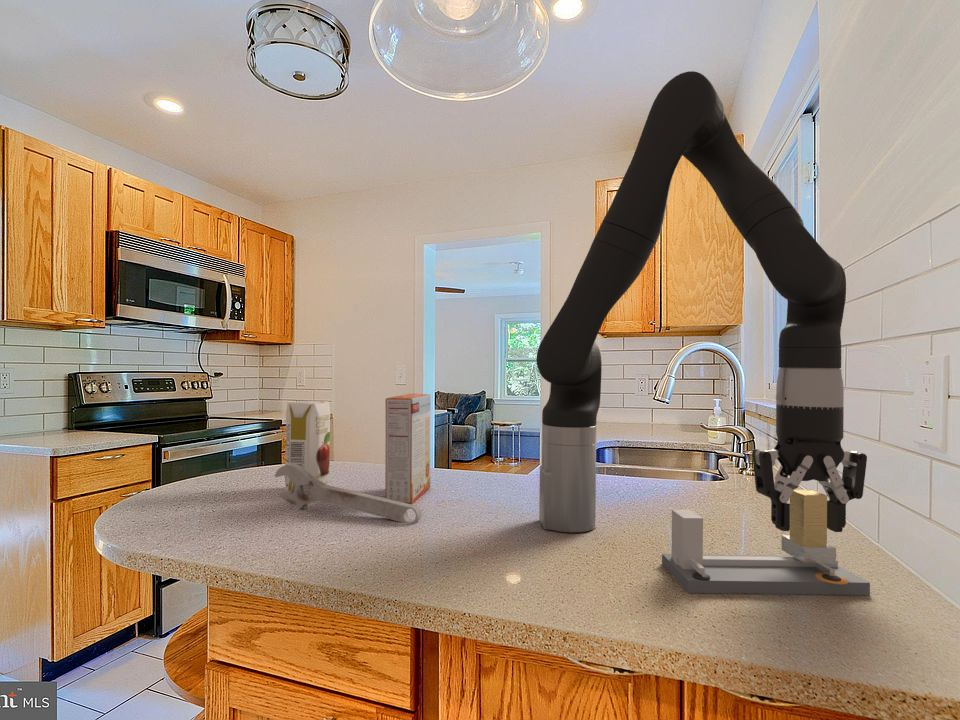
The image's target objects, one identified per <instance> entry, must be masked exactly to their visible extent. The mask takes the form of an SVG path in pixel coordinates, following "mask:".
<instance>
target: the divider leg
mask: <svg viewBox="0 0 960 720" xmlns="http://www.w3.org/2000/svg"><path fill="white" fill-rule="evenodd" d="M827 500H828V496H827V494H825V493H821V492H819V491H816V490H813V489H794V491H793V493H792V495H791V496H790V498H789V503H790V530H789V534H781V551H783V552H784V553H786V554H788V555H791V556H793V557H794V558H796V559H798V560H799V561H801V562H803V563H804V564H815V567H816V568H818V569H820V570H821V571H823V572H825V573H826V574H828V575H830V576H835V570H834V569H832V568H830V567H829V566H827V565H825V564H836V560H837V548H836V547H835V546H832V545H830V544H828V528H827Z"/></svg>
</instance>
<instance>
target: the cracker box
mask: <svg viewBox="0 0 960 720" xmlns="http://www.w3.org/2000/svg"><path fill="white" fill-rule="evenodd" d="M431 404H432V402H431V394H428V393H427V394H426V393H425V394H424V393H423V394H422V393H407V394H401V395H396V396H390V397H387V398H385V445H384V447H385V449H384V451H385V455H384V456H385V457H384V458H385V461H384V462H385V469H384V470H385V473H384V474H385V476H384V478H385V479H384V480H385V481H384V483H385V493H384V495H385V496H384V498H386V499H390V500H394V501H399V502H403V503H407V504H412V505H414V503H415V502H416V501H417V500H418V499H419V498H420V497H421V496H423V495H424V494H425V493H426V492H427V491H428V490H429V489H430V488H431V410H432V409H431Z"/></svg>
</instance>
